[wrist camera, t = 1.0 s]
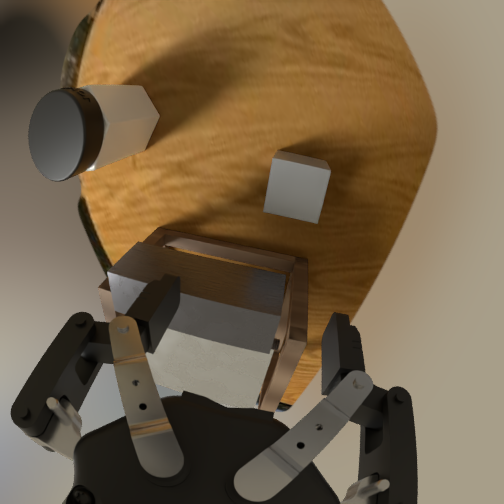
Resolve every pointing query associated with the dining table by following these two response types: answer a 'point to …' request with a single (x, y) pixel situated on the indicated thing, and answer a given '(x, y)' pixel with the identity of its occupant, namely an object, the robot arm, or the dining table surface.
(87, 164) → the jar
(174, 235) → the frame
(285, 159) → the gray cube
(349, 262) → the dining table surface
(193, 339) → the trapdoor
